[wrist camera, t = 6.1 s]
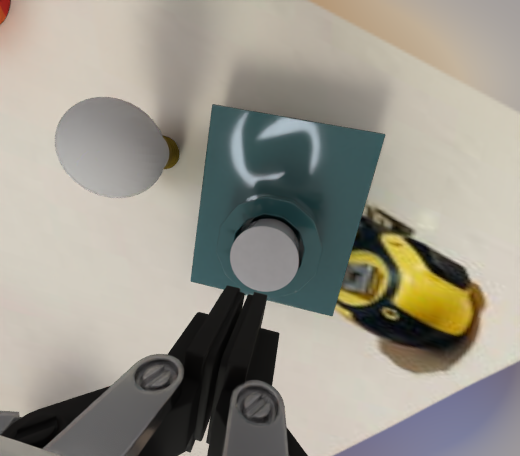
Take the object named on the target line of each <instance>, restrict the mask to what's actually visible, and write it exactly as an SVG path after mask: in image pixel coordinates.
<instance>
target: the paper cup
mask: <svg viewBox="0 0 520 456" xmlns="http://www.w3.org/2000/svg"><path fill="white" fill-rule="evenodd" d="M9 6H10V0H0V24H1V23H2V22H3V21H4V19H5V18H6V16H7V14H8V11H9Z"/></svg>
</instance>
